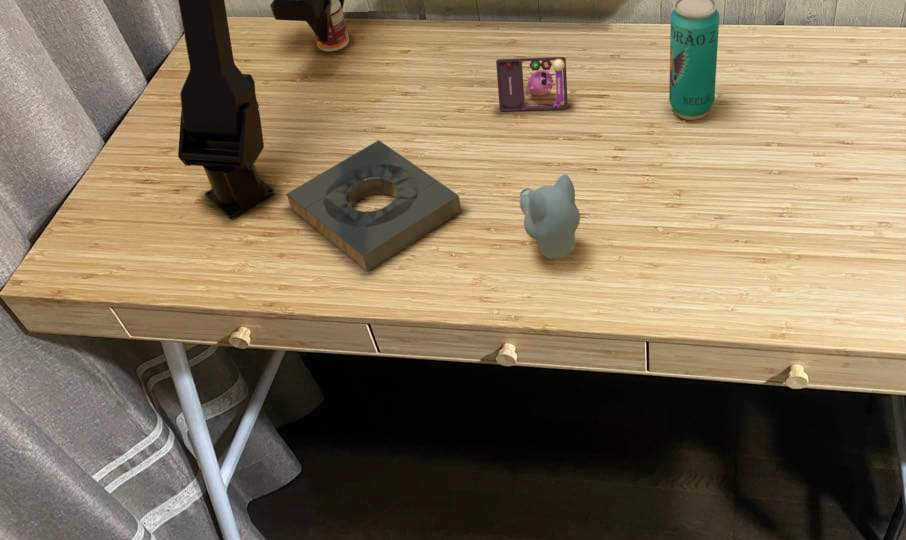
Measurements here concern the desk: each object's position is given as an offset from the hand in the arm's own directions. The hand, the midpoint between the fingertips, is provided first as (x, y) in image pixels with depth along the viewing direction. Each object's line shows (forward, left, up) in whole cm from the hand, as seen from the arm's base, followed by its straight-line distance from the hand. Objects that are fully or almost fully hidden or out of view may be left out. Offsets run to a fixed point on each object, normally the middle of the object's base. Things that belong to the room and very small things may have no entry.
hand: (330, 31), depth 147 cm
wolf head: (-55, +8, -2) cm, 56 cm away
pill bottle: (0, 0, -2) cm, 2 cm away
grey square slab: (-35, +18, -2) cm, 39 cm away
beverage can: (-50, -22, -2) cm, 55 cm away
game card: (-33, -10, -2) cm, 35 cm away
